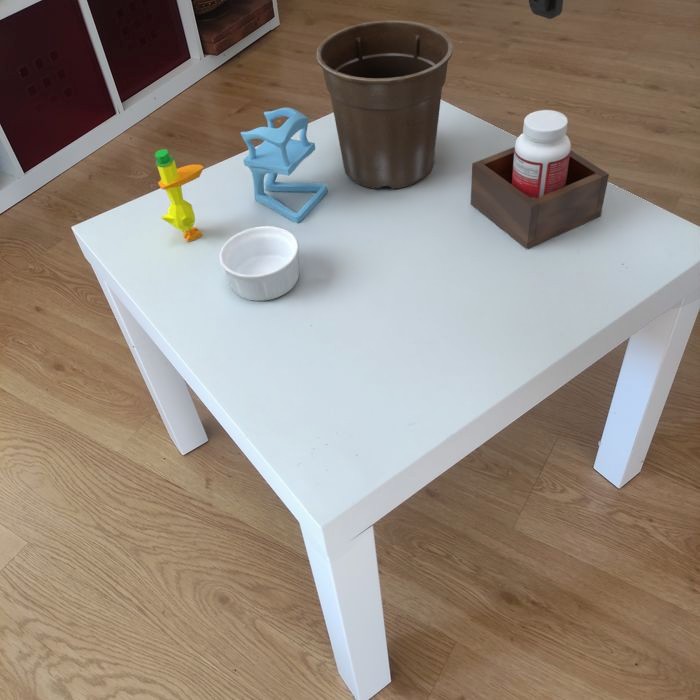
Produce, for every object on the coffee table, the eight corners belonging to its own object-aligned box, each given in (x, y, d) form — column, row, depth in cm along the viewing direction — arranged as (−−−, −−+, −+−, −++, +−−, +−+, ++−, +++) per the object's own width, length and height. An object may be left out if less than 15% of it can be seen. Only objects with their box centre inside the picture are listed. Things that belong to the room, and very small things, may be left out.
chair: (276, 178, 98) (261, 94, 89) (329, 190, 94) (319, 104, 86) (244, 209, 93) (225, 124, 84) (299, 223, 90) (285, 136, 81)
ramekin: (287, 310, 79) (281, 280, 76) (214, 299, 81) (205, 270, 78) (314, 260, 85) (309, 230, 81) (244, 251, 87) (237, 221, 84)
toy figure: (211, 218, 92) (188, 133, 84) (224, 230, 90) (202, 144, 82) (163, 239, 90) (135, 154, 81) (176, 253, 88) (147, 167, 79)
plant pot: (474, 156, 97) (480, 36, 86) (401, 215, 89) (396, 91, 78) (380, 124, 105) (374, 10, 94) (305, 175, 97) (288, 58, 86)
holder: (540, 175, 93) (545, 134, 89) (600, 216, 86) (609, 174, 82) (470, 204, 90) (472, 163, 85) (526, 249, 83) (531, 207, 78)
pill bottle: (560, 189, 89) (572, 105, 81) (564, 219, 85) (577, 133, 77) (508, 189, 90) (516, 106, 82) (510, 219, 86) (518, 134, 78)
